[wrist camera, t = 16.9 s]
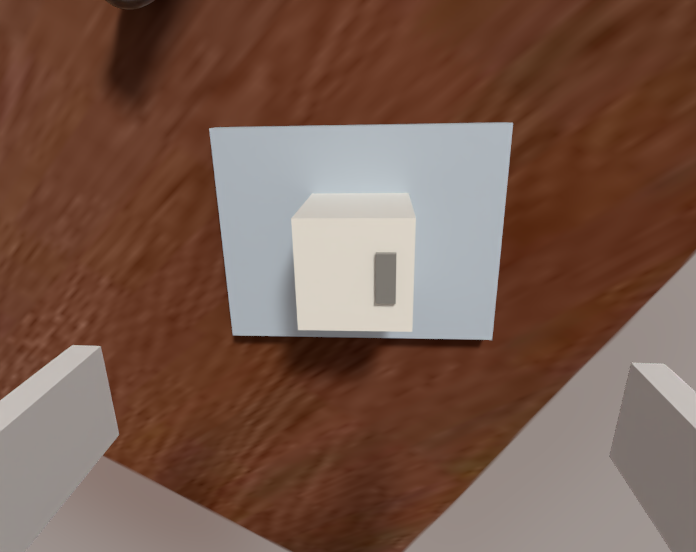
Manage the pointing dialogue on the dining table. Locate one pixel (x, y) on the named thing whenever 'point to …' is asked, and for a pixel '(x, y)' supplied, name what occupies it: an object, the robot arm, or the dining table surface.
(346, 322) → the cream box with handle
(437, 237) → the panel
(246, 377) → the dining table surface
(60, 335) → the dining table surface
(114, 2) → the tin
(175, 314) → the dining table surface
